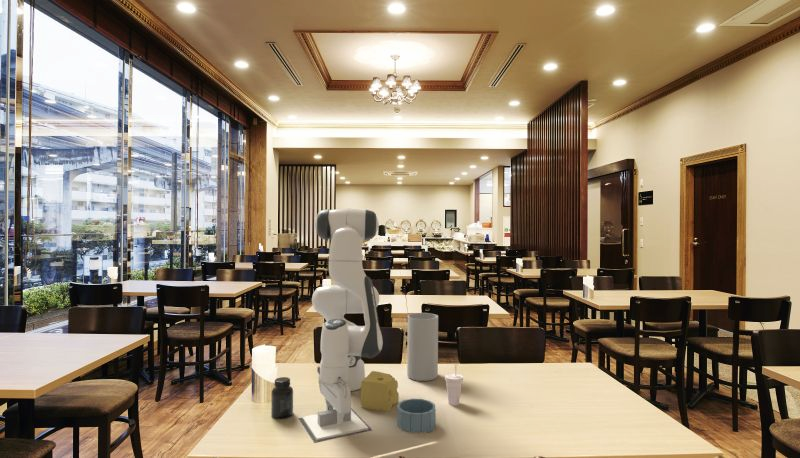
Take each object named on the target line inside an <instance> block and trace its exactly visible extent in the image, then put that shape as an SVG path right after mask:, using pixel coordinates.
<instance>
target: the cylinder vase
mask: <svg viewBox="0 0 800 458" xmlns="http://www.w3.org/2000/svg"><path fill="white" fill-rule="evenodd" d="M406 341H407V342H406V343H407V346H406V347H407V348H406V349H407V351H406V352H407V355H406V356H407V358H406V359H407V360H406V361H407V362H406V363H407V364H406V370H407V371H406V373H407V377H408V378H409V379H410V380H412V381H419V382H430V381H434V380H436V379H437V378H438V374H439V373H438V371H439V370H438V369H439V368H438V367H439V366H438V365H439V362H438V361H439V358H438V357H439V315H438V314H434V313H431V312H429V313H428V312H414V313H409V314H408V315H407V340H406Z"/></svg>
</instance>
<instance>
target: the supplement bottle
mask: <svg viewBox="0 0 800 458" xmlns="http://www.w3.org/2000/svg"><path fill="white" fill-rule="evenodd" d="M270 395H271V398H270V399H271V400H270V401H271V405H270V406H271V411H270V412H271V413H270V414H271V418H272V419H274V420H285V419H289V418H291V417H292V416H293V415H294V389H293V387H292V386H291V378H289V377H288V376H287V377H286V376H284V377H277V378H275V380H274V387H273V388H272V389H271V393H270Z"/></svg>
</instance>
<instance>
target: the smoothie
mask: <svg viewBox="0 0 800 458" xmlns="http://www.w3.org/2000/svg"><path fill="white" fill-rule="evenodd" d="M444 380H445V384H446V394H447V401H448V402H447V403H448V405H449V406H451V407H452V406H453V407H455V406H457V407H458V406H459V405H460V400H461V392H462V386H463V385H462V383H463V381H464V376H463V375H462V374H459V373H457V363H455V364H454V372H453V373H447V374H445V375H444Z"/></svg>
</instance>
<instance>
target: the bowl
mask: <svg viewBox="0 0 800 458" xmlns="http://www.w3.org/2000/svg"><path fill="white" fill-rule="evenodd" d="M396 412H397V413H396V419H397V420H396V425H397V427H398V428H399V429H400V430H401V431H405V432H408V433H414V434H415V433H420V434H421V433H427V434H428V433H430V432H433V431H434V430H435V429H436V404H435V403H434V402H432V401H431V400H427V399H425V398H424V399H423V398H409V399H403V400H401V401H400V402H397V407H396ZM433 429H434V430H433Z"/></svg>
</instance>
